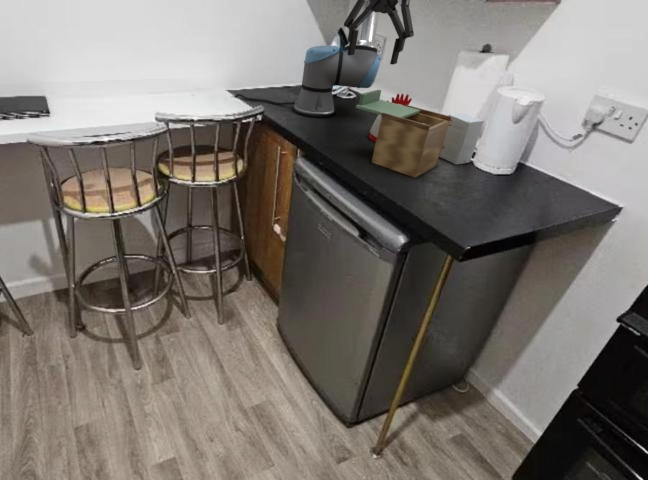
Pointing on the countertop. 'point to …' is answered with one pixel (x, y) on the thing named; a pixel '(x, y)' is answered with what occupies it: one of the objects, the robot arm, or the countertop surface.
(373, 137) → the white toy chicken
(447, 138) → the small box
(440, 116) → the case
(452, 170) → the countertop surface
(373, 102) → the lid
